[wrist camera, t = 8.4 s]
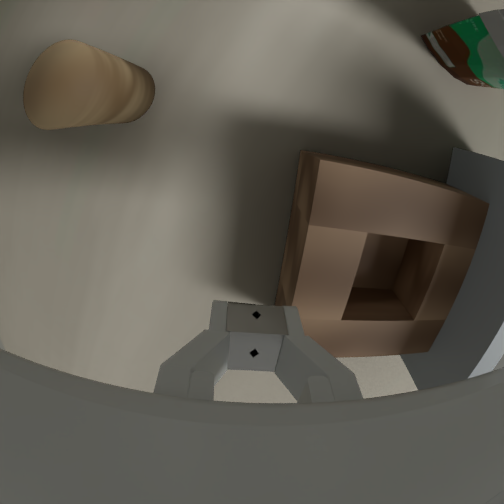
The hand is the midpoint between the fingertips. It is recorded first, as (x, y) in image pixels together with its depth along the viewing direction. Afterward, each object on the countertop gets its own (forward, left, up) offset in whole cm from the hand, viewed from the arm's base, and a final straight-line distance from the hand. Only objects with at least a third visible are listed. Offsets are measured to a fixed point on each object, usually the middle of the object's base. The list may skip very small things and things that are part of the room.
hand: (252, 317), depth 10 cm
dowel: (-8, -9, -10) cm, 16 cm away
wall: (+1, +16, -10) cm, 19 cm away
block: (+1, +9, -10) cm, 13 cm away
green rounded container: (-16, +16, -10) cm, 25 cm away
